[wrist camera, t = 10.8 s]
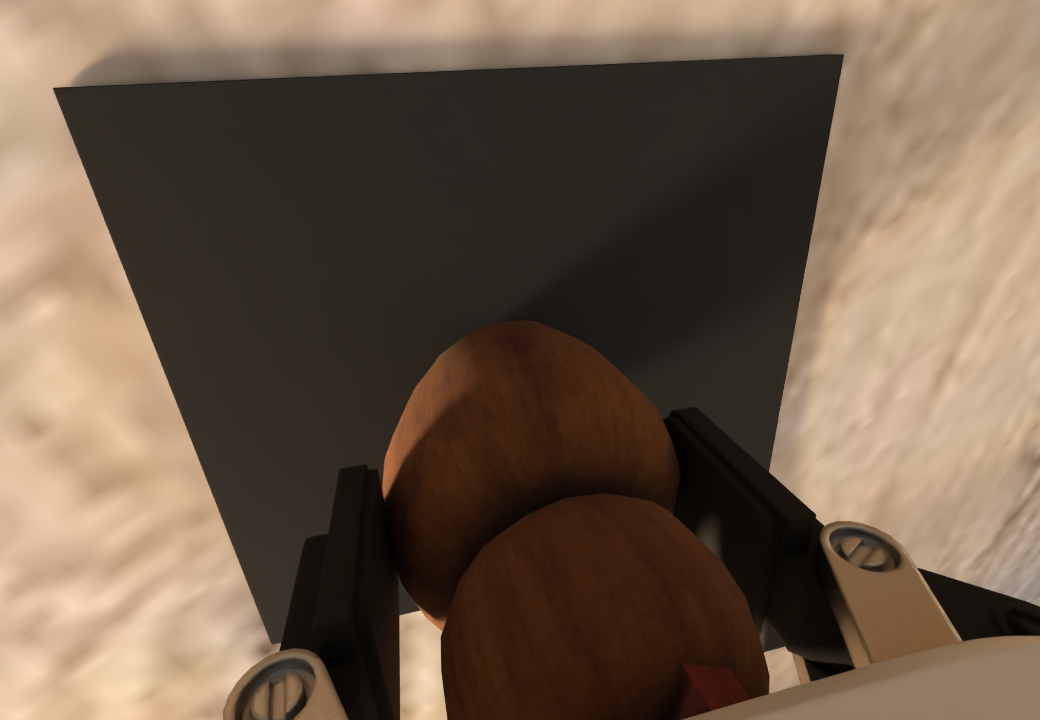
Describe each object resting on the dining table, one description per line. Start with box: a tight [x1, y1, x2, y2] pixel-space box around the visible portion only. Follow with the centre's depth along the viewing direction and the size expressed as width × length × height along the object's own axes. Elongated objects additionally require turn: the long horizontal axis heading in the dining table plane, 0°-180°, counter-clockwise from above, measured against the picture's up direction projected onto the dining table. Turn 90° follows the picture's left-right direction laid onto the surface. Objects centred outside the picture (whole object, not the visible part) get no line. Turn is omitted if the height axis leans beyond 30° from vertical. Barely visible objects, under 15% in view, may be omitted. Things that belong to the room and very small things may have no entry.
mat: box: [53, 54, 844, 644], centre depth 16 cm, size 20×18×1 cm
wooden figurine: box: [382, 320, 770, 720], centre depth 10 cm, size 7×6×15 cm
